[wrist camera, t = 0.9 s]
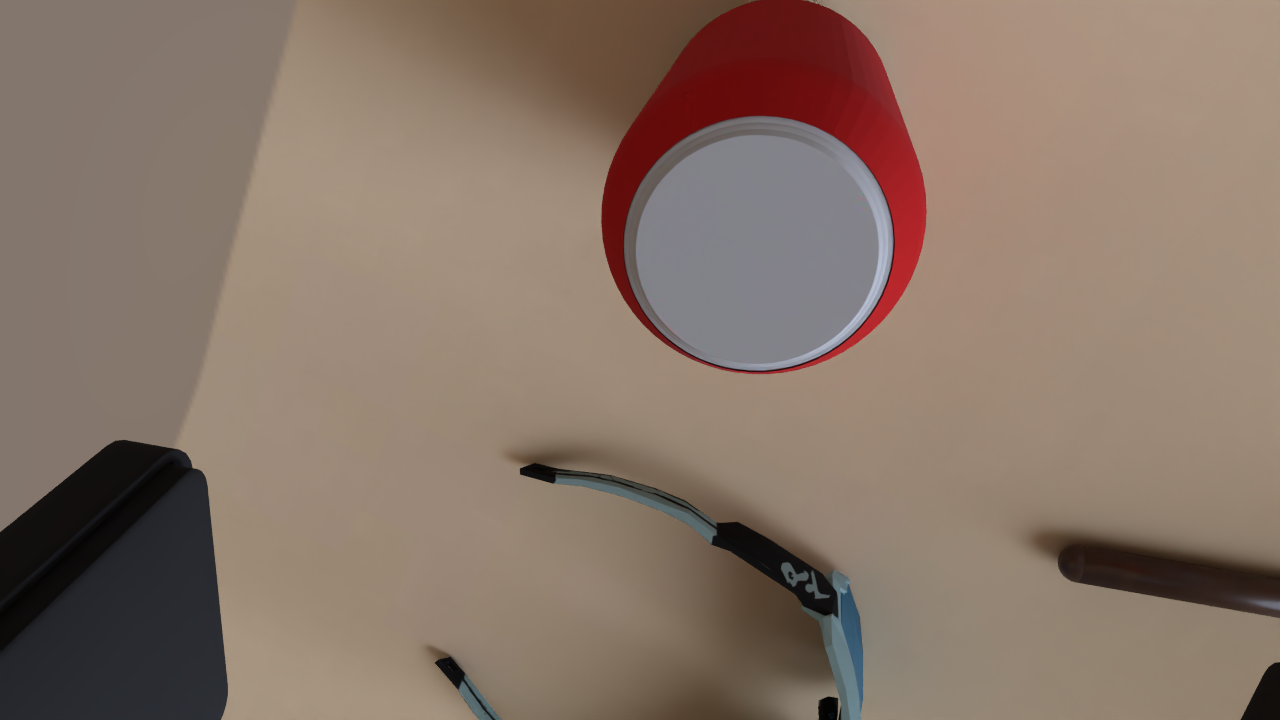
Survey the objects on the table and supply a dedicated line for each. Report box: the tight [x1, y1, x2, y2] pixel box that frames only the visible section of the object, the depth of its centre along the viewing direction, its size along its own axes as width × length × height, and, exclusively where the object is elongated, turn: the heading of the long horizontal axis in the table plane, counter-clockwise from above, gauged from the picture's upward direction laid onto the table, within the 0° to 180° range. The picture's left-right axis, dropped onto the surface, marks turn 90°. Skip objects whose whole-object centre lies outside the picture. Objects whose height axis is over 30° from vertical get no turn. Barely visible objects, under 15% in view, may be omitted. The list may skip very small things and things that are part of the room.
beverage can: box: [601, 0, 926, 374], centre depth 23 cm, size 6×6×12 cm
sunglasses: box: [435, 463, 863, 720], centre depth 36 cm, size 14×15×5 cm
